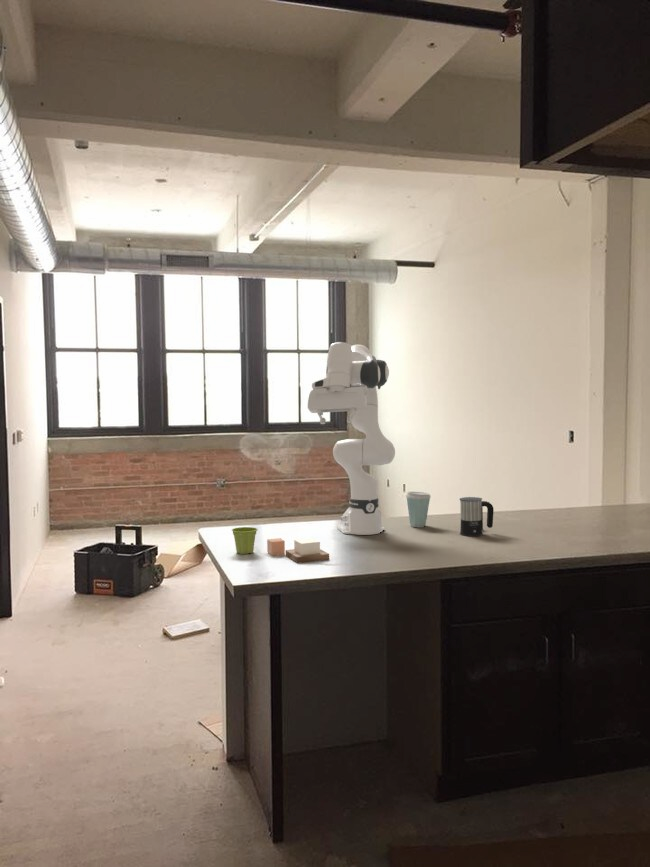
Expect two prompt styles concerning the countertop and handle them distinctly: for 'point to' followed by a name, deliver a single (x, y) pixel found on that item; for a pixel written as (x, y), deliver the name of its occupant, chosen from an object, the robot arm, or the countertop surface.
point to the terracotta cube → (275, 546)
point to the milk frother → (474, 515)
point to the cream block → (307, 546)
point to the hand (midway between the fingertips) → (336, 422)
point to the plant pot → (244, 539)
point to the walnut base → (307, 556)
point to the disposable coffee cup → (418, 508)
